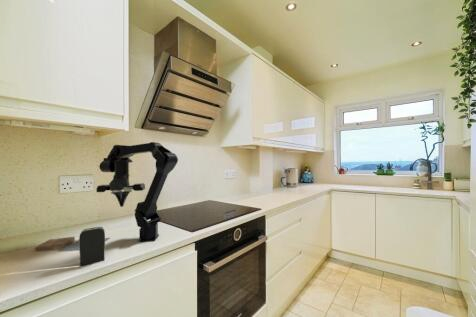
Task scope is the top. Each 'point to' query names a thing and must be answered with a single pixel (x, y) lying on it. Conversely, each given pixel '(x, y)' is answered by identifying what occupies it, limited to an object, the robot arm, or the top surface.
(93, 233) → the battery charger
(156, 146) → the robot arm
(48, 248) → the board
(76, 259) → the top surface
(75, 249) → the mat
